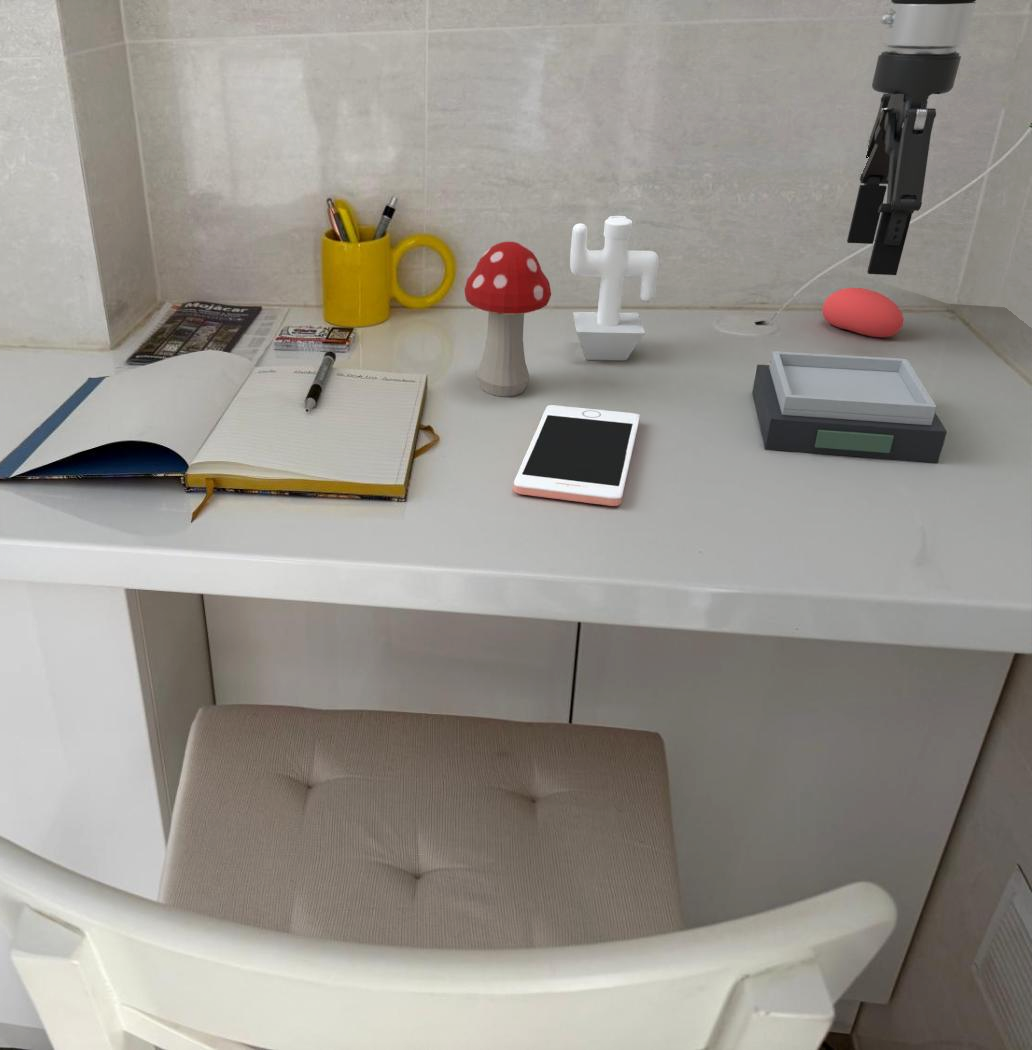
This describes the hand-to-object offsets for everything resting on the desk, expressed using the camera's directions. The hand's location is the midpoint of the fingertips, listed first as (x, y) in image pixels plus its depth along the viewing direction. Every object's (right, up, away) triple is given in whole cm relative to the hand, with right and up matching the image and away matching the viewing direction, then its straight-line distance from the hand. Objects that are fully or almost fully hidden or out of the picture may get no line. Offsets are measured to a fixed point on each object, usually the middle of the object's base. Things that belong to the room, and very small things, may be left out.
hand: (870, 257), depth 112 cm
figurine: (-30, -11, 0) cm, 32 cm away
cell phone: (-39, -24, -23) cm, 51 cm away
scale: (-13, -21, -19) cm, 31 cm away
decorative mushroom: (-43, -16, -7) cm, 46 cm away
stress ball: (+1, -8, +4) cm, 9 cm away
